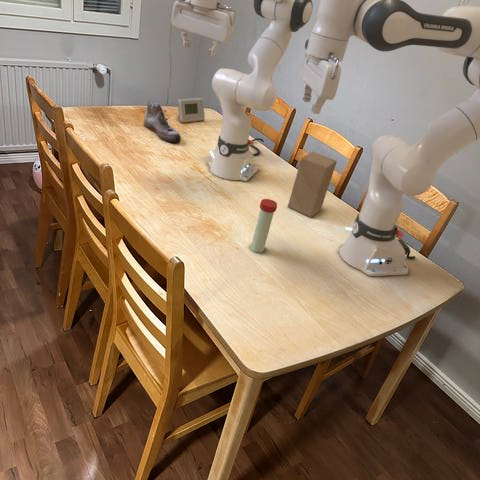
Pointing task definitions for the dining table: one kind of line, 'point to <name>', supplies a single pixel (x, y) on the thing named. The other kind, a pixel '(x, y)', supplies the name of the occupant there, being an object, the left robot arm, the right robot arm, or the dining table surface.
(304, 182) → the wooden block
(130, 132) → the dining table surface
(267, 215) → the green cylinder
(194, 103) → the digital clock
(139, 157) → the dining table surface
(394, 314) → the dining table surface
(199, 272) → the dining table surface
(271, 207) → the lid
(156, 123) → the shoe
